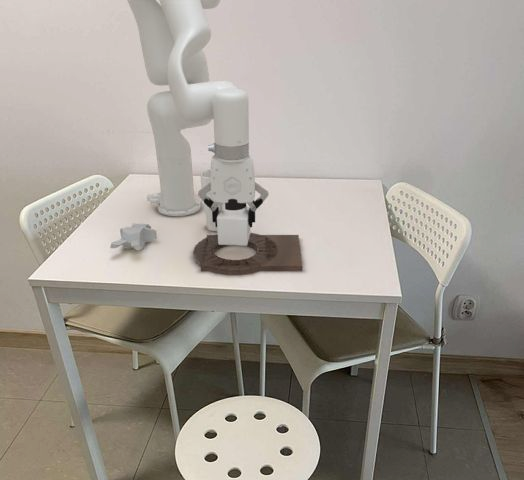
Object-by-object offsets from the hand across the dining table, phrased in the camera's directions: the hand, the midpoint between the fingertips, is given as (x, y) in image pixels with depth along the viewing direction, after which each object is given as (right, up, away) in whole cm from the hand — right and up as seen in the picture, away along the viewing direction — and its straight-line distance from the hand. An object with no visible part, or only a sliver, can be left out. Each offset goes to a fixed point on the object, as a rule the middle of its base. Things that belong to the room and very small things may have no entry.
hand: (234, 224), depth 130 cm
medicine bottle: (0, -3, +3) cm, 4 cm away
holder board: (+3, -7, +5) cm, 8 cm away
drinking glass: (-6, +3, +17) cm, 19 cm away
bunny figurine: (-26, -4, +9) cm, 27 cm away
